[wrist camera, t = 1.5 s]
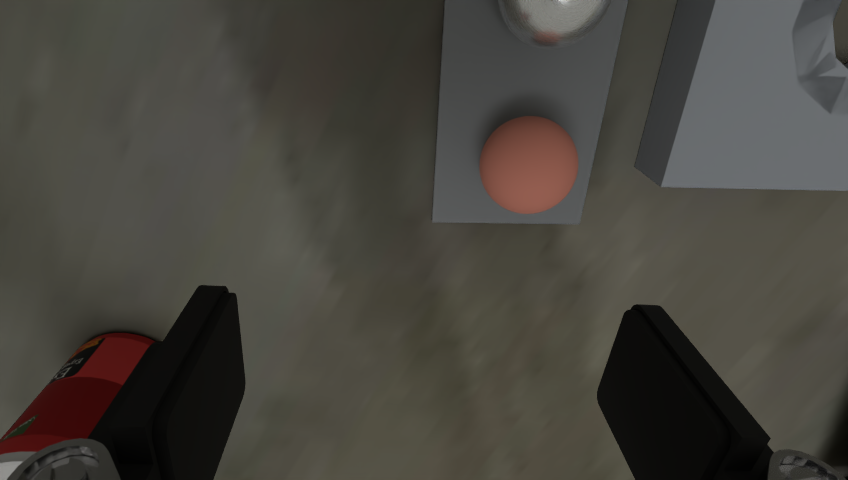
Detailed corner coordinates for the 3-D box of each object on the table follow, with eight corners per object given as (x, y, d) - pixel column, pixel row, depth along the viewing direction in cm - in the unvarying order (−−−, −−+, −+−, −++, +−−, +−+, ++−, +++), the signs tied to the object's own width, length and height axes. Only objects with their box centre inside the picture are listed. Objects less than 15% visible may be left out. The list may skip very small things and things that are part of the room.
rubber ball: (477, 104, 29) (494, 129, 24) (568, 107, 29) (604, 132, 24) (469, 191, 31) (483, 230, 26) (552, 192, 32) (582, 231, 27)
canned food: (86, 314, 34) (-33, 446, 25) (200, 350, 36) (132, 484, 27) (69, 388, 37) (-44, 531, 28) (175, 417, 39) (105, 559, 30)
